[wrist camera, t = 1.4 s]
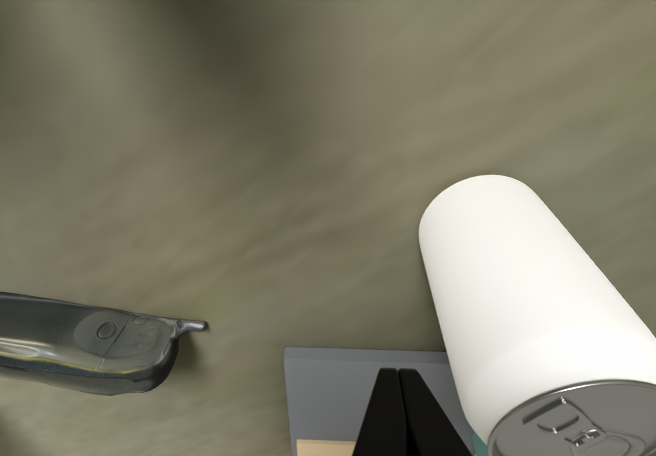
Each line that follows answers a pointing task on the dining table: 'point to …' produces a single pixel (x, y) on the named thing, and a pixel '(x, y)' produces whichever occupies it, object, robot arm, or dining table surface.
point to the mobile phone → (86, 345)
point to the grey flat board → (354, 394)
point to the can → (535, 328)
